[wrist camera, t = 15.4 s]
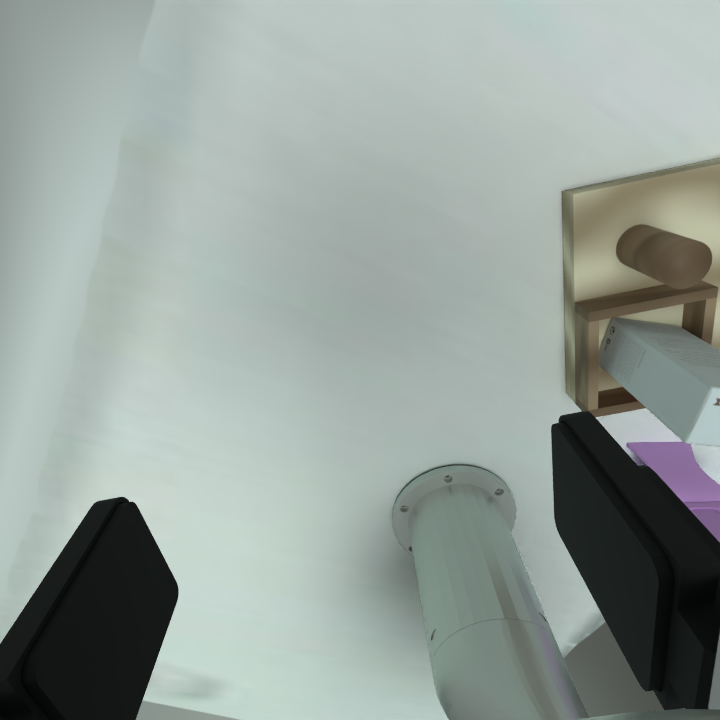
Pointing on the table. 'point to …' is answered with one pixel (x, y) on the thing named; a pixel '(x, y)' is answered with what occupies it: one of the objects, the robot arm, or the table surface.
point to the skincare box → (667, 375)
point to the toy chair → (684, 479)
